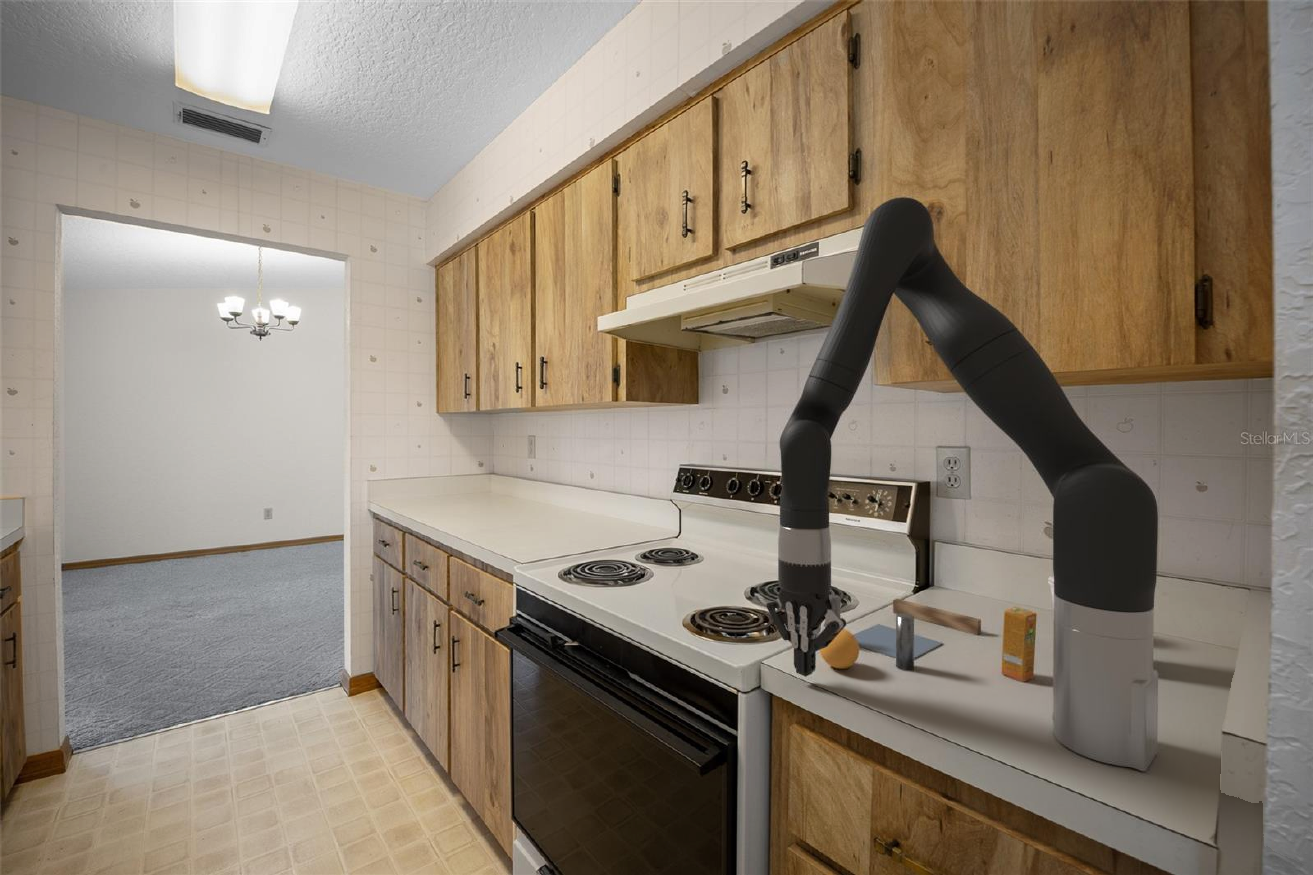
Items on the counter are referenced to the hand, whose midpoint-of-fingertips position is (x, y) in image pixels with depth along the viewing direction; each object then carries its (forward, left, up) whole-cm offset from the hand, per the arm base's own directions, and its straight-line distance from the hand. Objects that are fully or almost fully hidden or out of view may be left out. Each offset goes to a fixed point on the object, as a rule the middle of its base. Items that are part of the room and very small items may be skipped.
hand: (804, 673), depth 83 cm
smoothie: (-18, -54, -2) cm, 57 cm away
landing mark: (0, -25, -2) cm, 25 cm away
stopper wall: (0, -41, -2) cm, 41 cm away
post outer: (+7, -17, -2) cm, 18 cm away
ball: (0, -9, +2) cm, 9 cm away
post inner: (-6, -17, -2) cm, 18 cm away
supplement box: (-19, -27, -2) cm, 33 cm away
